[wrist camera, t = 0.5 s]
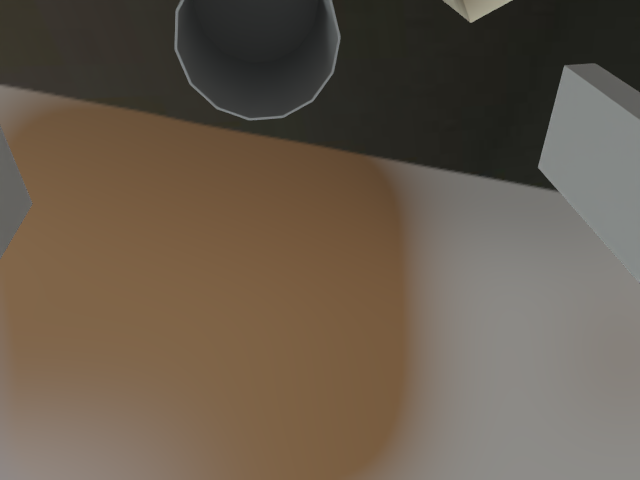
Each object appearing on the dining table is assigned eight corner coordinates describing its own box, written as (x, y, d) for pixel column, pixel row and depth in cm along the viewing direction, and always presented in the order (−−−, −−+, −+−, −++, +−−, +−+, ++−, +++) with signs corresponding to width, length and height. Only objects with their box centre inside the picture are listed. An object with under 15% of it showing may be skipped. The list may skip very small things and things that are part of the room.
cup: (317, -79, 33) (339, -54, 25) (322, 56, 38) (341, 112, 30) (179, -70, 32) (156, -42, 24) (202, 65, 37) (189, 125, 29)
